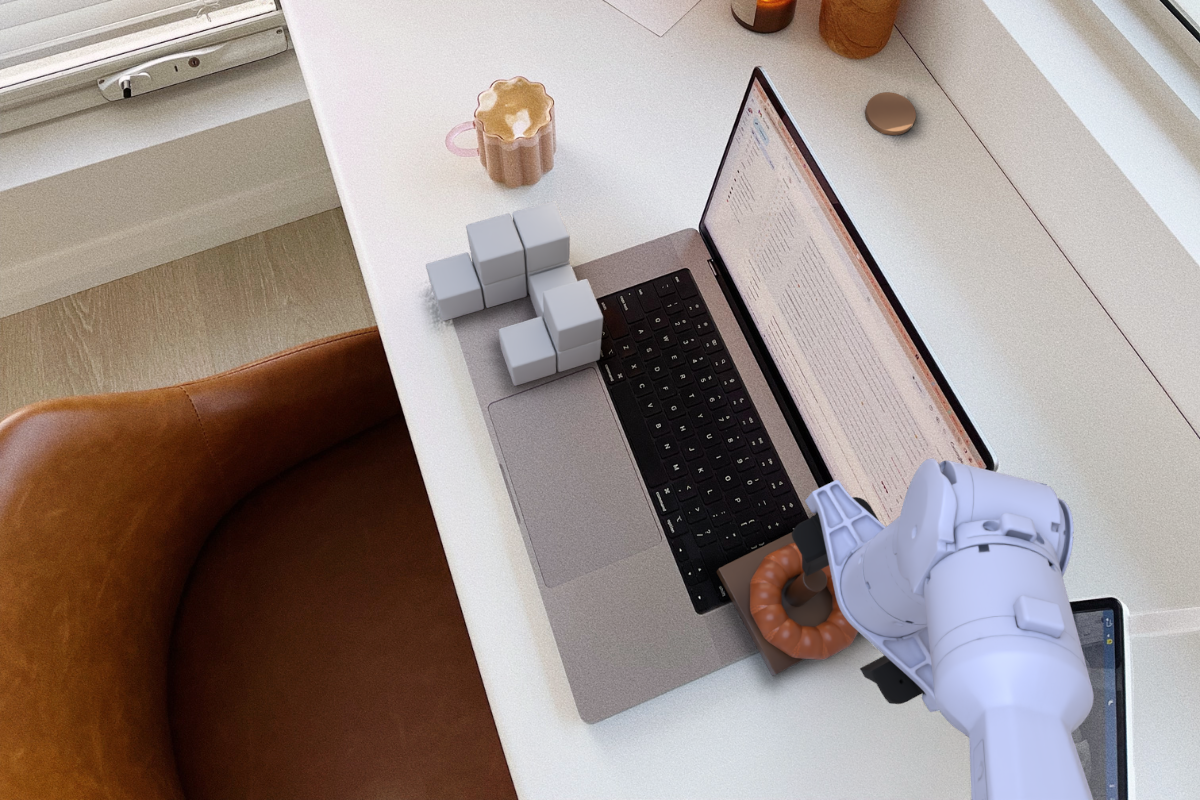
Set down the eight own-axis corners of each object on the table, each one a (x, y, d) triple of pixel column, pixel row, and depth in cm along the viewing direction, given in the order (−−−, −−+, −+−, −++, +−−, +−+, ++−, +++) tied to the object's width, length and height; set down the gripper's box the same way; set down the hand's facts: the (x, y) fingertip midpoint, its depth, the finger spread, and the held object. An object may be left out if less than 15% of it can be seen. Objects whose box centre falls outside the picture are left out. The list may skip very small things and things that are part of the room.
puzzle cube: (430, 285, 83) (417, 237, 75) (556, 249, 85) (555, 199, 77) (469, 401, 78) (459, 361, 71) (600, 360, 80) (603, 317, 73)
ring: (880, 629, 71) (890, 624, 69) (783, 681, 69) (791, 677, 67) (821, 529, 74) (829, 521, 72) (727, 576, 72) (732, 570, 70)
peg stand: (870, 624, 72) (900, 608, 66) (772, 676, 70) (793, 664, 64) (811, 524, 75) (834, 499, 69) (716, 571, 73) (731, 550, 67)
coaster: (923, 125, 92) (925, 121, 91) (882, 142, 91) (884, 138, 90) (896, 89, 94) (898, 85, 93) (855, 105, 93) (857, 101, 92)
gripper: (1048, 661, 49) (951, 686, 62) (901, 435, 54) (838, 501, 67) (941, 721, 48) (864, 735, 61) (800, 483, 53) (755, 541, 65)
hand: (844, 615), depth 64 cm, fingers open, 7 cm apart
